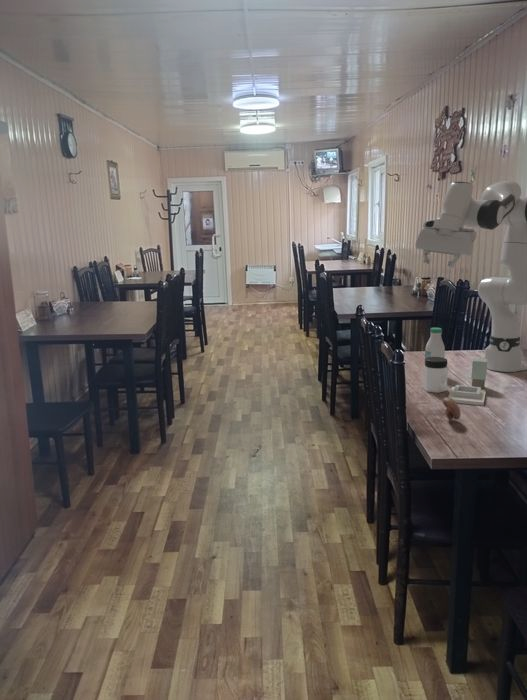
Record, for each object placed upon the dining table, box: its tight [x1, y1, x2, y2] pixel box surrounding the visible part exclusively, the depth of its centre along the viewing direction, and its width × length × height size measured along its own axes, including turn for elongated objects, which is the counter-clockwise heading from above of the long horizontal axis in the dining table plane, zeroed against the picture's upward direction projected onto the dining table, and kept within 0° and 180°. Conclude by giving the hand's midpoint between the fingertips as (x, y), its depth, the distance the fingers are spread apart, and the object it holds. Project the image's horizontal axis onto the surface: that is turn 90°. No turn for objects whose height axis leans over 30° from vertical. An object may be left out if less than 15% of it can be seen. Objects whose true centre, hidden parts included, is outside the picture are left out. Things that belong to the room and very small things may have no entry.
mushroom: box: [441, 396, 461, 422], centre depth 181 cm, size 8×6×8 cm
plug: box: [471, 357, 488, 390], centre depth 215 cm, size 5×5×11 cm
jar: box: [422, 357, 449, 394], centre depth 214 cm, size 9×8×12 cm
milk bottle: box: [424, 327, 446, 359], centre depth 232 cm, size 8×8×20 cm
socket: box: [447, 384, 487, 406], centre depth 205 cm, size 16×12×3 cm
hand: (437, 265), depth 197 cm, fingers open, 8 cm apart
